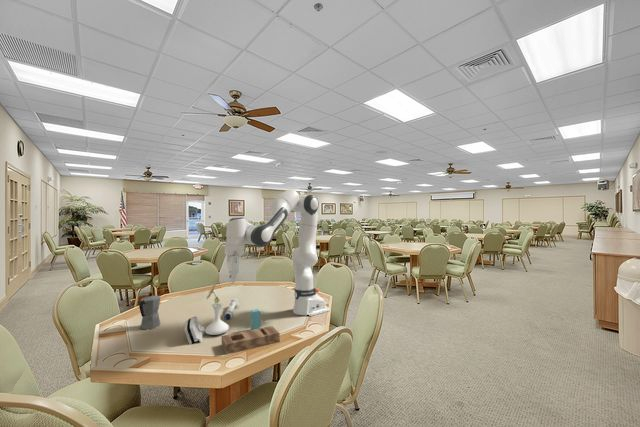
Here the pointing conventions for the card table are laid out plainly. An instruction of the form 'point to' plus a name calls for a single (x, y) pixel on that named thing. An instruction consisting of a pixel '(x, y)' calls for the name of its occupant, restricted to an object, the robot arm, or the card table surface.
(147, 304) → the coffeepot
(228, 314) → the white plastic cylinder
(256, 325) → the peg
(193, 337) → the white plastic case
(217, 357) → the card table surface
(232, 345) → the socket block
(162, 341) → the card table surface
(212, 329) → the flower in vase
